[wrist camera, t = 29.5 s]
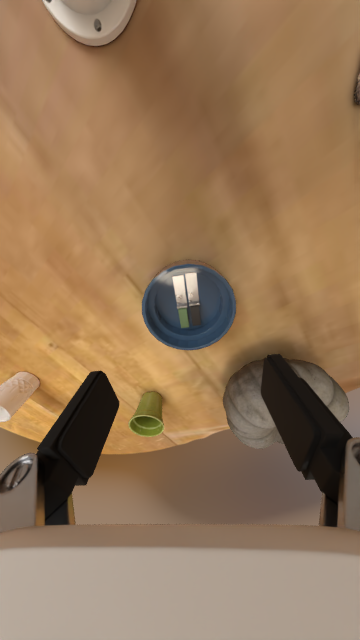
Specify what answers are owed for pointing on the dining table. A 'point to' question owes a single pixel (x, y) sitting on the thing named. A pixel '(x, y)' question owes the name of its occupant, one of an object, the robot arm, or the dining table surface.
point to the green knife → (181, 300)
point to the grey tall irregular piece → (357, 91)
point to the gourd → (250, 409)
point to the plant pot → (148, 416)
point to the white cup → (16, 393)
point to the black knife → (193, 297)
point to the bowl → (213, 306)
